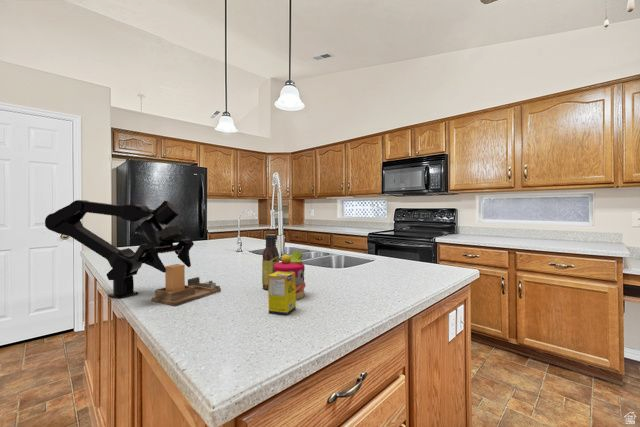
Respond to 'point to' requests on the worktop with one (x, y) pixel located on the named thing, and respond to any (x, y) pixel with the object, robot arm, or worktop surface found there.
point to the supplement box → (281, 292)
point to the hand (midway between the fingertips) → (178, 269)
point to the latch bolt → (209, 285)
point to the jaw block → (175, 277)
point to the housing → (184, 293)
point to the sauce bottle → (269, 258)
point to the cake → (296, 266)
